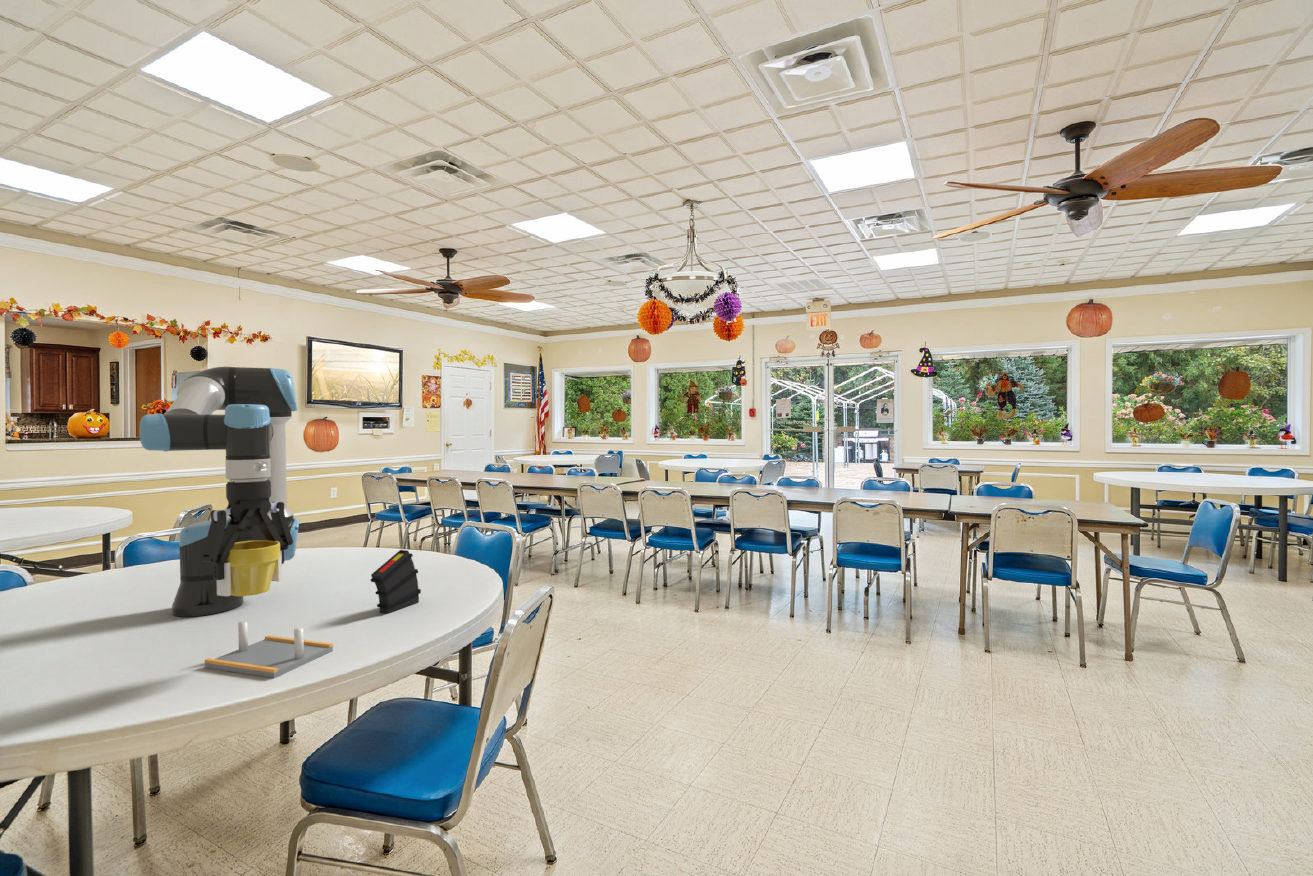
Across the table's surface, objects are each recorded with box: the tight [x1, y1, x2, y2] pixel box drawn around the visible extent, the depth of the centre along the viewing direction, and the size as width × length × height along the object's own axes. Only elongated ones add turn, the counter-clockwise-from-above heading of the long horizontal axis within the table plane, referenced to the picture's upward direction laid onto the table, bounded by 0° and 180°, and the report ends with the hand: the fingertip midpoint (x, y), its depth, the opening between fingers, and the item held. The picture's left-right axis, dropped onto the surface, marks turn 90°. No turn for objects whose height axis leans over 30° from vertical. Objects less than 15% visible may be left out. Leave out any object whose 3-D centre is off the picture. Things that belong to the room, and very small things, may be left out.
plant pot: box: [226, 540, 280, 597], centre depth 118 cm, size 10×10×10 cm
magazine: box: [370, 549, 422, 614], centre depth 155 cm, size 4×13×15 cm, turn 157°
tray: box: [203, 620, 334, 679], centre depth 121 cm, size 18×14×7 cm
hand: (250, 587), depth 118 cm, fingers closed on plant pot, 10 cm apart
